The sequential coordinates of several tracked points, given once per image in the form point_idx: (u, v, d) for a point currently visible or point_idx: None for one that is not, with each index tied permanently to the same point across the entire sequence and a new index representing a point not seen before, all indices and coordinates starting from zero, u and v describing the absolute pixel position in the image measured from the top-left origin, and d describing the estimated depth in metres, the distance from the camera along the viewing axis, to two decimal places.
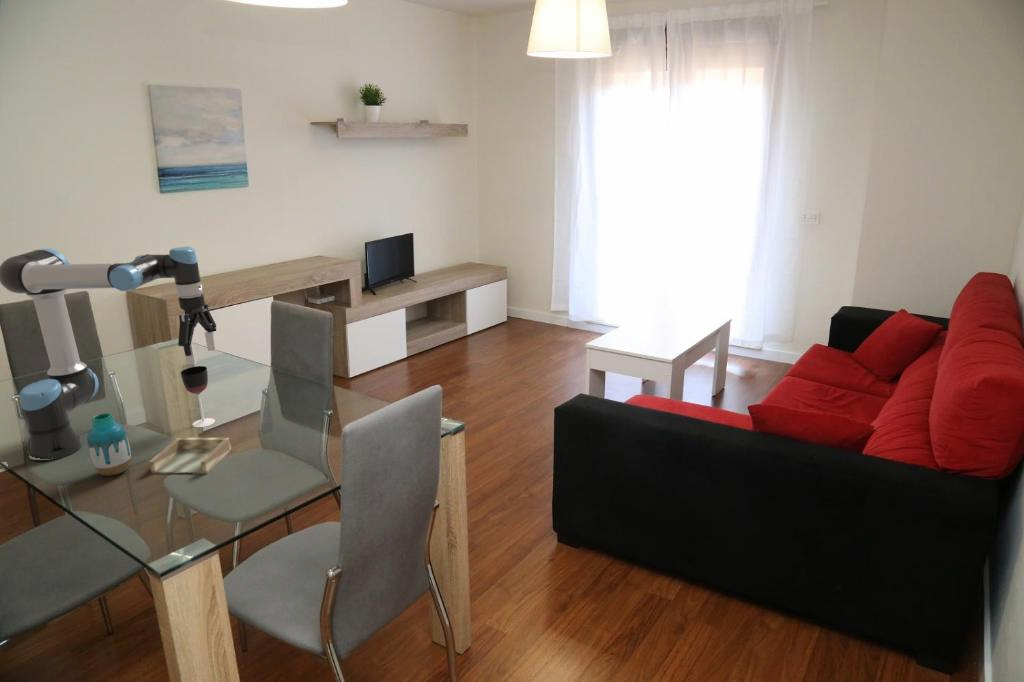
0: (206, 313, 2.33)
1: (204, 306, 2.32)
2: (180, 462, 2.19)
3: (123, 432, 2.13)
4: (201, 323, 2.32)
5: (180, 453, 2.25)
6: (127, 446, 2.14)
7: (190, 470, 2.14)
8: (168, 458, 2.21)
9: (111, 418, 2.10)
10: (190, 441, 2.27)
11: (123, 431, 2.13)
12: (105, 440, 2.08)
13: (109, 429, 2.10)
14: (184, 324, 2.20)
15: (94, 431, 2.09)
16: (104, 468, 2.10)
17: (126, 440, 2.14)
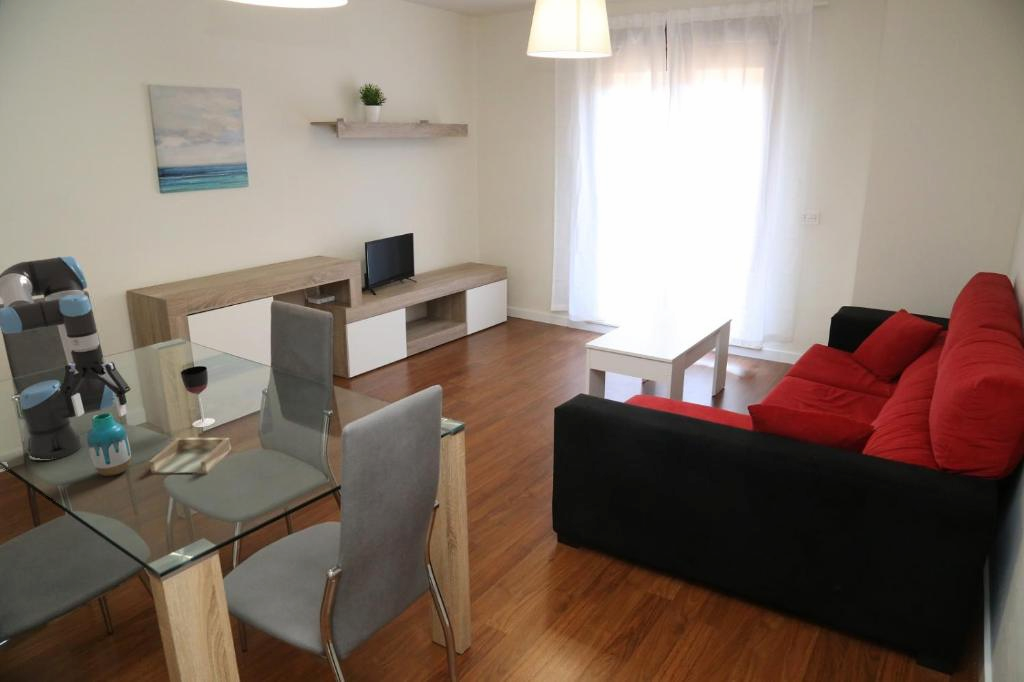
0: None
1: None
2: (180, 462, 2.19)
3: (123, 432, 2.13)
4: None
5: (180, 453, 2.25)
6: (127, 446, 2.14)
7: (190, 470, 2.14)
8: (168, 458, 2.21)
9: (111, 418, 2.10)
10: (190, 441, 2.27)
11: (123, 431, 2.13)
12: (105, 440, 2.08)
13: (109, 429, 2.10)
14: None
15: (94, 431, 2.09)
16: (104, 468, 2.10)
17: (126, 440, 2.14)
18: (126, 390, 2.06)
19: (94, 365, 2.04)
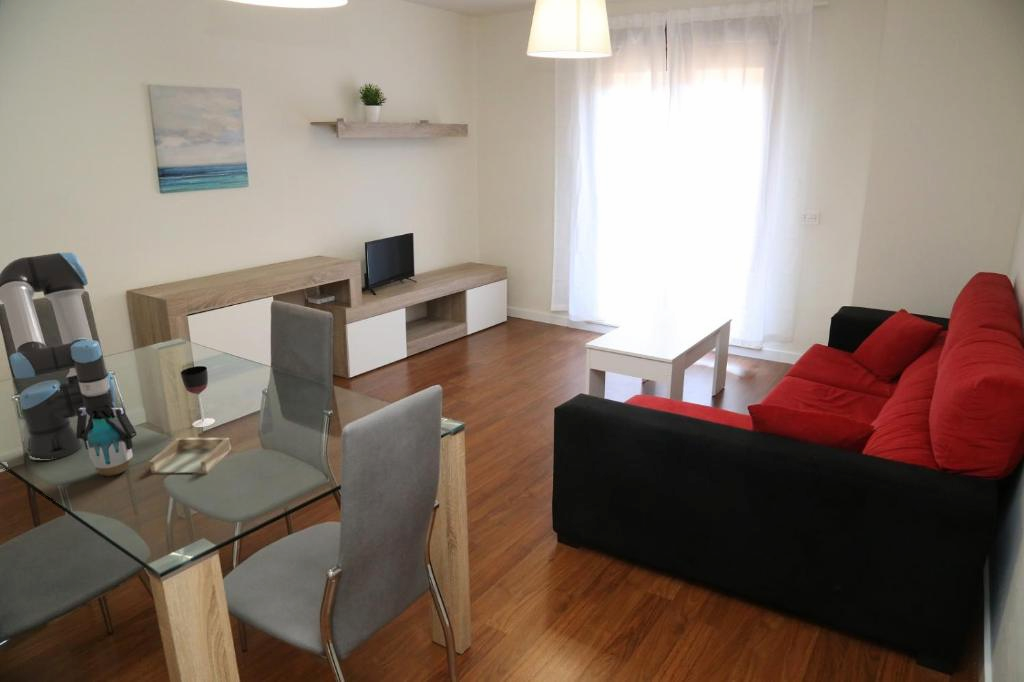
0: None
1: None
2: (180, 462, 2.19)
3: None
4: None
5: (180, 453, 2.25)
6: None
7: (190, 470, 2.14)
8: (168, 458, 2.21)
9: (111, 418, 2.10)
10: (190, 441, 2.27)
11: None
12: (105, 440, 2.08)
13: (109, 429, 2.10)
14: None
15: (94, 431, 2.09)
16: (104, 467, 2.10)
17: None
18: (132, 435, 2.11)
19: (105, 408, 2.08)
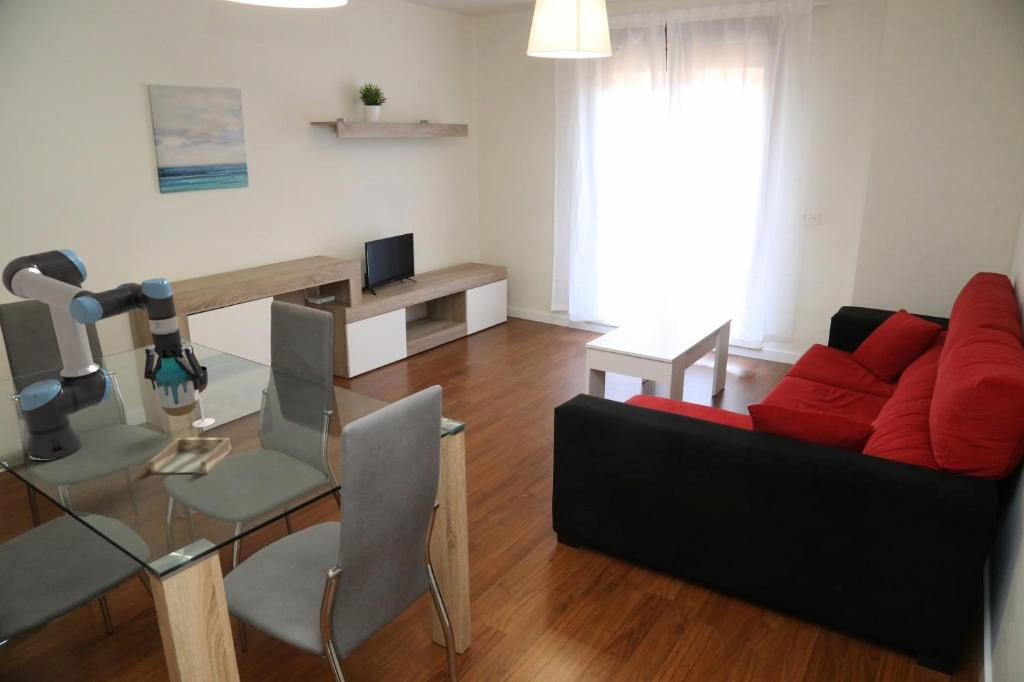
0: None
1: None
2: (180, 462, 2.19)
3: None
4: None
5: (180, 453, 2.25)
6: None
7: (190, 470, 2.14)
8: (168, 458, 2.21)
9: (179, 358, 2.10)
10: (190, 441, 2.27)
11: None
12: (174, 379, 2.07)
13: (178, 368, 2.09)
14: None
15: (162, 370, 2.08)
16: (172, 407, 2.10)
17: None
18: (201, 375, 2.10)
19: (174, 347, 2.08)
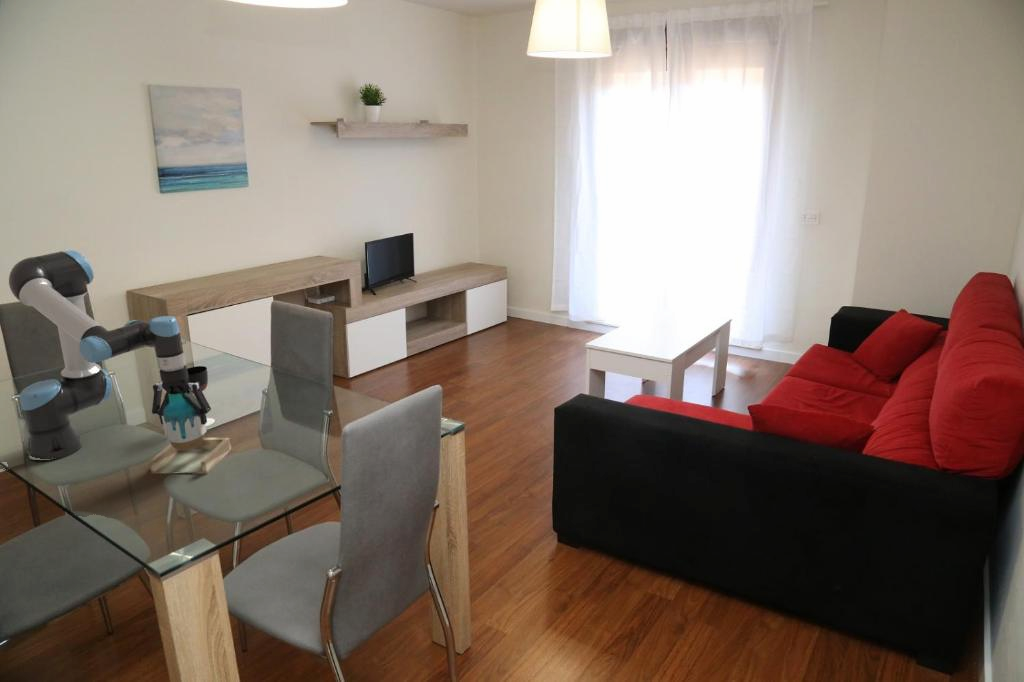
0: None
1: None
2: (180, 462, 2.19)
3: None
4: None
5: (180, 453, 2.25)
6: None
7: (190, 470, 2.14)
8: (168, 458, 2.21)
9: (186, 393, 2.14)
10: None
11: None
12: (182, 415, 2.11)
13: (185, 404, 2.13)
14: None
15: (170, 406, 2.12)
16: (179, 442, 2.13)
17: None
18: (207, 410, 2.14)
19: (181, 383, 2.11)
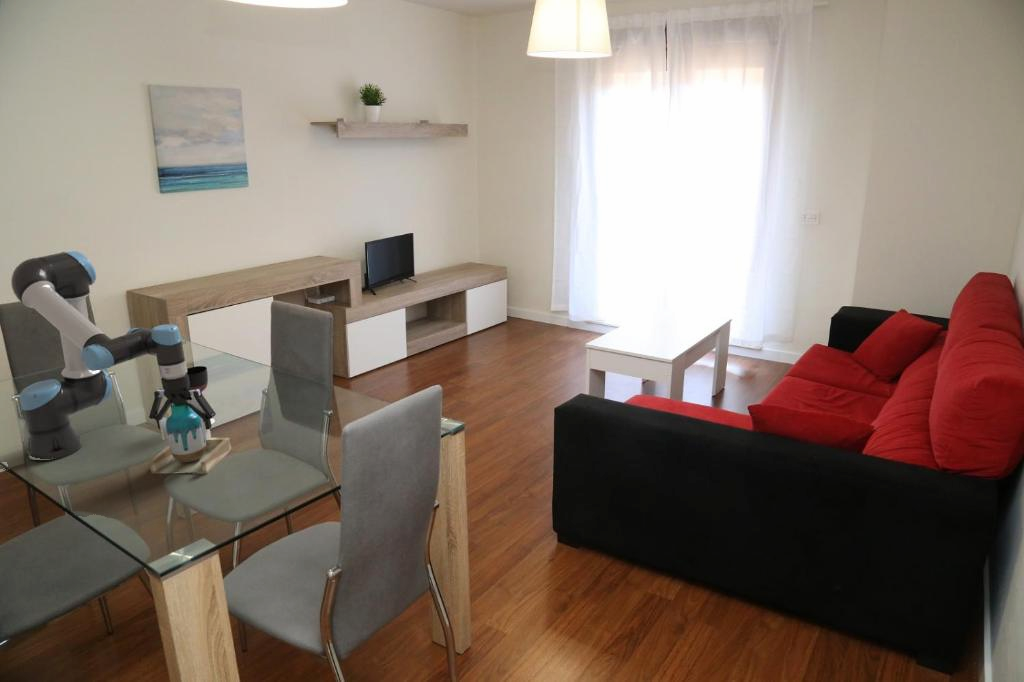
0: None
1: (193, 392, 2.12)
2: (180, 462, 2.19)
3: (200, 419, 2.18)
4: None
5: None
6: None
7: (190, 470, 2.14)
8: (168, 458, 2.21)
9: None
10: None
11: (200, 418, 2.18)
12: (184, 427, 2.13)
13: (187, 416, 2.15)
14: None
15: (172, 418, 2.14)
16: (181, 454, 2.15)
17: None
18: (212, 415, 2.14)
19: (182, 391, 2.12)
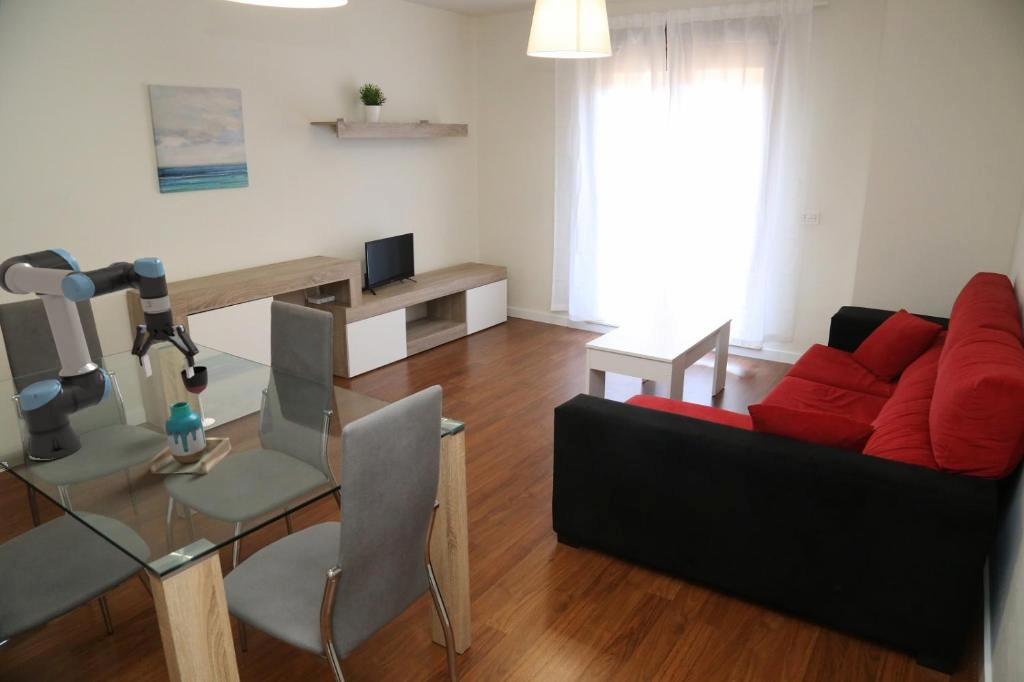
0: None
1: None
2: (180, 462, 2.19)
3: (199, 420, 2.17)
4: None
5: None
6: (203, 434, 2.19)
7: (190, 470, 2.14)
8: (168, 458, 2.21)
9: (188, 407, 2.15)
10: None
11: (199, 419, 2.17)
12: (184, 428, 2.12)
13: (187, 417, 2.14)
14: None
15: (172, 419, 2.13)
16: (182, 455, 2.15)
17: (202, 428, 2.18)
18: (195, 352, 2.10)
19: (165, 327, 2.08)
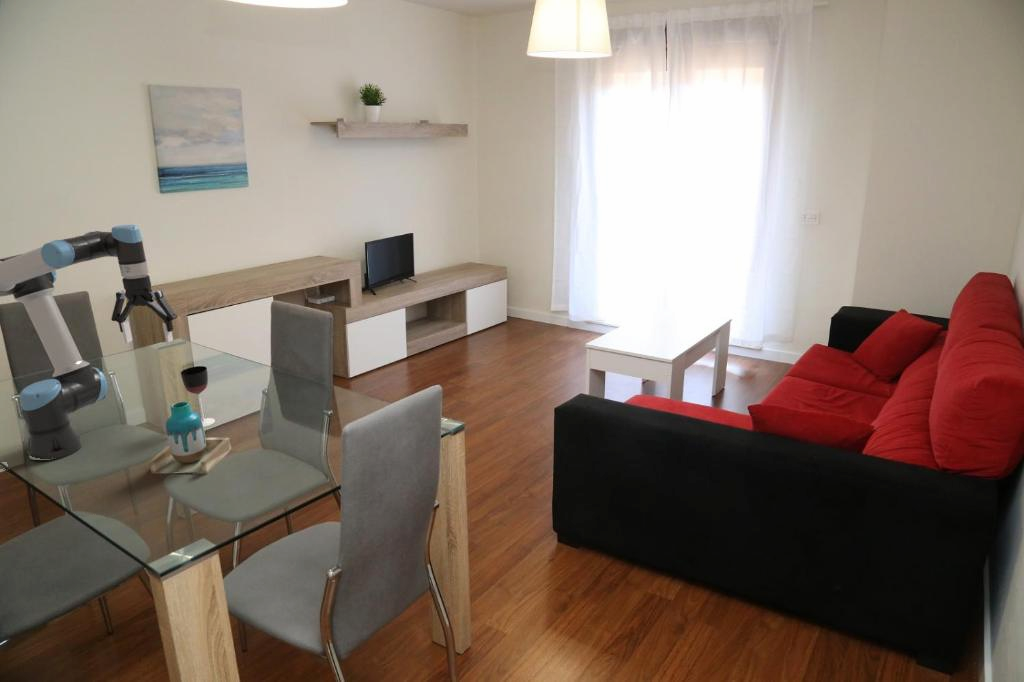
0: None
1: (155, 293, 2.15)
2: (180, 462, 2.19)
3: (200, 420, 2.17)
4: None
5: None
6: (203, 434, 2.19)
7: (190, 470, 2.14)
8: (168, 458, 2.21)
9: (189, 407, 2.15)
10: None
11: (200, 419, 2.17)
12: (184, 428, 2.13)
13: (187, 417, 2.14)
14: None
15: (172, 419, 2.13)
16: (182, 455, 2.15)
17: (202, 428, 2.18)
18: (173, 317, 2.17)
19: (144, 292, 2.15)
